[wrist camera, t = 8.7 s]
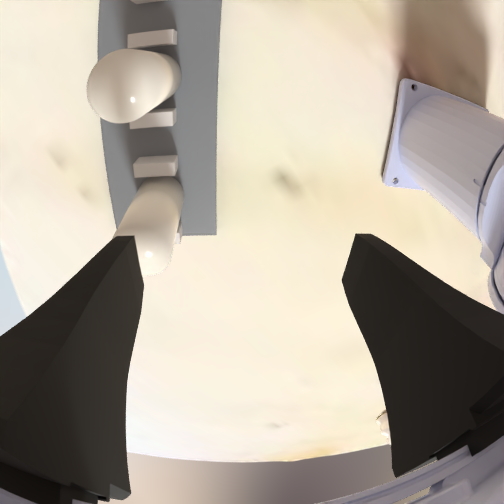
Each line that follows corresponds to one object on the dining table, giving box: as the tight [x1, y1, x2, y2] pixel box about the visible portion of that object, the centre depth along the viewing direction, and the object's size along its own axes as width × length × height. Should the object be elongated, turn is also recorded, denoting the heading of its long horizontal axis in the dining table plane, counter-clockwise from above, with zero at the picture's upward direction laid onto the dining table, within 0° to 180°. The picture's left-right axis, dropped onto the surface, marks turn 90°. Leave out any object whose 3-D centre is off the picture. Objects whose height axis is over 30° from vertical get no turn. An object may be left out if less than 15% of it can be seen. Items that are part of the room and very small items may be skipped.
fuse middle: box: [87, 49, 182, 123], centre depth 11 cm, size 3×3×6 cm
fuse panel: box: [98, 0, 222, 244], centre depth 14 cm, size 7×21×2 cm, turn 177°
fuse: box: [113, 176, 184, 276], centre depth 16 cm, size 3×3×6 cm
